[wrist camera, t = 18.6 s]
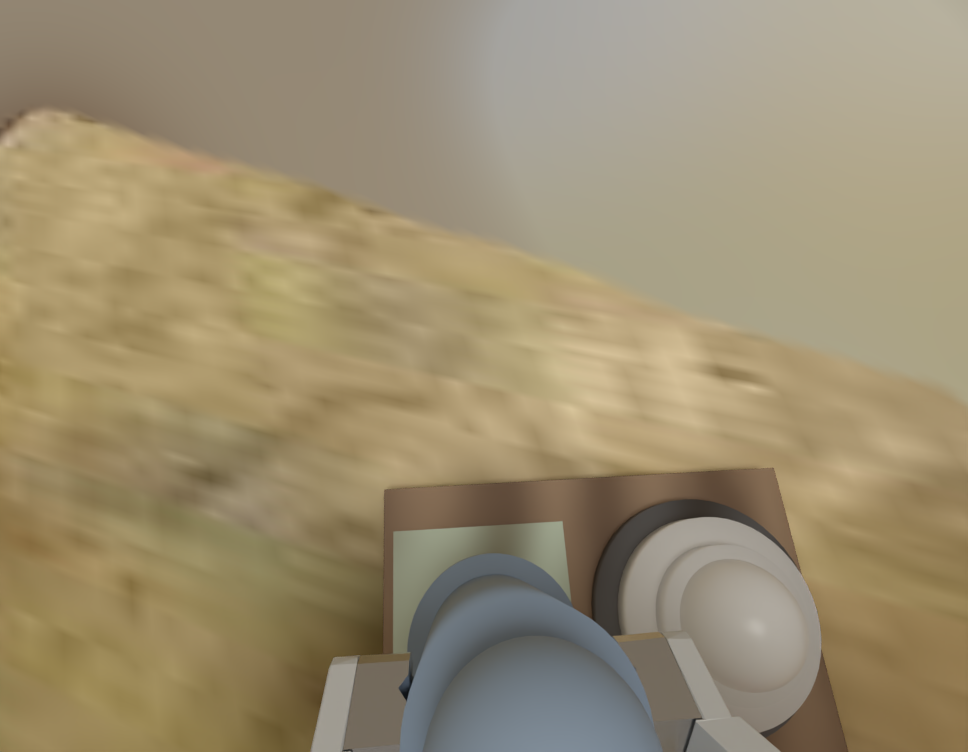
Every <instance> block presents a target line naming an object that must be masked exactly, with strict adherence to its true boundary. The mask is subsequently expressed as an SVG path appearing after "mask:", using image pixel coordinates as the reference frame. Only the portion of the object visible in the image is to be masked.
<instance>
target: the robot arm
mask: <svg viewBox="0 0 968 752" xmlns="http://www.w3.org/2000/svg"><path fill="white" fill-rule="evenodd" d="M612 638H613V639H614V640H615V641H616V642H617V643H618V645H619V646H620V647H621V649H622V650H623V651H624V653H625V654H626V655H627V657H628V658H629V660H630V662H631V663H632V665H633V667H634V669H635V670H636V672H637V674H638V676H639V679H640V681H641V683H642V685H643V688H644V690H645V693H646V696H647V699H648V702H649V705H650V709H651V714H652V718H653V723H654V729H655V731H656V733H657V736H658V738H659V740H660V744H661V747H662V750H663V752H781V751H780V750H778V749H777V748H776V747H775V746H774V745H773V744H771V743H770V742H769V741H768V740H767V739H766V738H764V737H763V736H762V735H761V734H760V733H759V732H757V731H756V730H755V729H754V728H753V727H752V726H750V725H749V724H748V723H747V722H746V721H745V720H743V719H742V718H741V717H740V716H731V714H730V712H729V710H728V708H727V706H726V704H725V702H724V700H723V698H722V696H721V694H720V692H719V690H718V688H717V686H716V685H715V683H714V681H713V679H712V677H711V675H710V673H709V671H708V669H707V667H706V665H705V663H704V661H703V659H702V657H701V655H700V654H699V652H698V650H697V648H696V646H695V644H694V642H693V640H692V638H691V636H690V635H689V634H688V633H687V632H686V631H682V630H681V631H670V632H660V633H659V632H651V633H641V634H630V635H620V636H612ZM412 673H413V659H412V652H406V653H391V654H376V655H356V656H343V657H334V658H333V660H332V662H331V665H330V667H329V671H328V675H327V680H326V684H325V689H324V693H323V698H322V702H321V707H320V711H319V716H318V720H317V725H316V729H315V733H314V738H313V742H312V747H311V751H310V752H400V736H401V726H402V720H403V714H404V709H405V705H406V702H407V698H408V695H409V691H410V688H411V685H412V682H413V679H414V676H412Z"/></svg>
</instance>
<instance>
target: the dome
mask: <svg viewBox="0 0 968 752" xmlns="http://www.w3.org/2000/svg"><path fill="white" fill-rule="evenodd" d="M618 618H619V625H620V630H621V635H630V634H641V633H651V632H659V633H660V632H670V631H681V630H682V631H686V632H687V633H688V634H689V635H690V636H691V638H692V640H693V642H694V644H695V646H696V648H697V650H698V652H699V654H700V655H701V657H702V659H703V661H704V663H705V665H706V667H707V669H708V671H709V673H710V675H711V677H712V679H713V681H714V683H715V685H716V686H717V688H718V690H719V692H720V694H721V696H722V698H723V700H724V702H725V704H726V706H727V708H728V710H729V712H730V714H731V716H740V717H741V718H742V719H743V720H745V721H746V722H747V723H748V724H749V725H750V726H752V727H753V728H754V729H755V730H756V731H757V732H759V733H760V732H763V731H766V730H769V729H772V728H774V727H776V726H778V725H779V724H781V723H783V722H785V721H786V720H787V719H788V718H790V717H791V716H792V715H793V714H794V713H795V712H796V711H797V710H798V709H799V708H800V707H801V705H802V704H803V703H804V701H805V700H806V698H807V697H808V695H809V693H810V692H811V689H812V687H813V685H814V683H815V680H816V677H817V673H818V670H819V665H820V658H821V630H820V623H819V618H818V613H817V609H816V606H815V603H814V600H813V597H812V595H811V593H810V590H809V588H808V586H807V584H806V582H805V580H804V579H803V577H802V575H801V573H800V572H799V570H798V569H797V568H796V566H795V565H794V563H793V562H792V561H791V560H790V558H789V557H788V556H787V555H786V554H785V553H784V552H783V551H782V550H781V549H780V548H779V547H778V546H777V545H776V544H775V543H774V542H773V541H771V540H770V539H768V538H767V537H766V536H764V535H763V534H762V533H760V532H758V531H756V530H755V529H753V528H751V527H749V526H747V525H744V524H742V523H739V522H736V521H733V520H729V519H724V518H717V517H700V518H691V519H684V520H678V521H674V522H671V523H668V524H666V525H663V526H661V527H659V528H657V529H656V530H654V531H653V532H651V533H650V534H649V535H647V536H646V537H645V538H644V539H643V540H642V541H641V542H640V543H639V544H638V546H637V547H636V548H635V549H634V551H633V552H632V554H631V556H630V557H629V559H628V561H627V563H626V566H625V568H624V570H623V574H622V577H621V580H620V585H619V592H618Z"/></svg>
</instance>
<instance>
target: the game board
mask: <svg viewBox="0 0 968 752" xmlns="http://www.w3.org/2000/svg"><path fill="white" fill-rule="evenodd" d="M700 517H717V518H724V519H729V520H733V521H736V522H739V523H742V524H744V525H747V526H749V527H751V528H753V529H755V530H756V531H758V532H760V533H762V534H763V535H764V536H766V537H767V538H768V539H770V540H771V541H773V542H774V543H775V544H776V545H777V546H778V547H779V548H780V549H781V550H782V551H783V552H784V553H785V554H786V555H787V556H788V557H789V558H790V560H791V561H792V562H793V563H794V565H795V566H796V568H797V569H798V570H799V572H800V573H801V570H800V566H799V562H798V559H797V555H796V551H795V547H794V543H793V539H792V536H791V532H790V528H789V524H788V520H787V517H786V513H785V509H784V505H783V501H782V497H781V494H780V490H779V486H778V482H777V478H776V475H775V471H774V468H762V469H744V470H726V471H708V472H690V473H673V474H655V475H637V476H619V477H601V478H583V479H565V480H547V481H530V482H512V483H494V484H476V485H458V486H440V487H422V488H405V489H387V490H385V491H384V595H383V654H391V653H406V652H407V645H408V637H409V631H410V626H411V623H412V620H413V616H414V614H415V612H416V609H417V607H418V605H419V603H420V601H421V599H422V598H423V596H424V594H425V593H426V591H427V590H428V589H429V587H430V586H431V585H432V583H433V582H434V581H435V580H436V579H437V578H438V577H439V576H440V575H441V574H442V573H443V572H444V571H445V570H447V569H448V568H449V567H451V566H452V565H454V564H456V563H457V562H459V561H461V560H463V559H466V558H468V557H471V556H475V555H479V554H486V553H500V554H507V555H513V556H516V557H519V558H523V559H525V560H527V561H529V562H532V563H534V564H535V565H537V566H538V567H540V568H542V569H543V570H544V571H545V572H547V573H548V574H549V575H550V576H551V577H552V578H553V579H554V580H555V581H556V582H557V583H558V584H559V585H560V586H561V588H562V589H563V590H564V592H565V593H566V595H567V596H568V598H569V600H570V602H571V603H572V605H573V608H574V609H576V610H577V611H579V612H581V613H582V614H584V615H586V616H587V617H589V618H590V619H592V620H593V621H594V622H596V623H597V624H598V625H599V626H601V627H602V628H603V629H604V630H605V631H606V632H607V633H608V634H609V635H610V636H611V637H612V636H620V635H621V630H620V625H619V618H618V592H619V585H620V580H621V577H622V574H623V570H624V568H625V566H626V563H627V561H628V559H629V557H630V556H631V554H632V552H633V551H634V549H635V548H636V547H637V546H638V544H639V543H640V542H641V541H642V540H643V539H644V538H645V537H646V536H647V535H649V534H650V533H651V532H653V531H654V530H656V529H657V528H659V527H661V526H663V525H666V524H668V523H671V522H674V521H678V520H684V519H691V518H700ZM801 575H802V574H801ZM760 734H761V735H762V736H763V737H764V738H766V739H767V740H768V741H769V742H770V743H771V744H773V745H774V746H775V747H776V748H777V749H778V750H780V751H781V752H848V749H847V746H846V742H845V738H844V734H843V730H842V726H841V723H840V719H839V715H838V711H837V707H836V704H835V700H834V696H833V692H832V688H831V685H830V681H829V677H828V673H827V669H826V665H825V662H824V658H823V654H822V650H821V658H820V665H819V670H818V673H817V677H816V680H815V683H814V685H813V687H812V689H811V692H810V693H809V695H808V697H807V698H806V700H805V701H804V703H803V704H802V705H801V707H800V708H799V709H798V710H797V711H796V712H795V713H794V714H793V715H792V716H791V717H790V718H788V719H787V720H786V721H785V722H783V723H781V724H779V725H778V726H776V727H774V728H772V729H769V730H766V731H763V732H760Z"/></svg>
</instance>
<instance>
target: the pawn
mask: <svg viewBox="0 0 968 752" xmlns="http://www.w3.org/2000/svg"><path fill="white" fill-rule="evenodd" d="M407 652H412V659H413V673H412V676H414V679H413V682H412V685H411V688H410V691H409V695H408V698H407V702H406V705H405V709H404V714H403V720H402V726H401V736H400V752H663V750H662V747H661V744H660V740H659V738H658V736H657V733H656V731H655V729H654V723H653V718H652V714H651V709H650V705H649V702H648V699H647V696H646V693H645V690H644V688H643V685H642V683H641V681H640V679H639V676H638V674H637V672H636V670H635V669H634V667H633V665H632V663H631V662H630V660H629V658H628V657H627V655H626V654H625V653H624V651H623V650H622V649H621V647H620V646H619V645H618V643H617V642H616V641H615V640H614V639H613V638H612V637H611V636H610V635H609V634H608V633H607V632H606V631H605V630H604V629H603V628H602V627H601V626H599V625H598V624H597V623H596V622H594V621H593V620H592V619H590V618H589V617H587V616H586V615H584V614H582V613H581V612H579V611H577V610H576V609H574V608H573V605H572V603H571V602H570V600H569V598H568V596H567V595H566V593H565V592H564V590H563V589H562V588H561V586H560V585H559V584H558V583H557V582H556V581H555V580H554V579H553V578H552V577H551V576H550V575H549V574H548V573H547V572H545V571H544V570H543V569H542V568H540V567H538V566H537V565H535V564H534V563H532V562H529V561H527V560H525V559H523V558H519V557H516V556H513V555H507V554H500V553H486V554H479V555H475V556H471V557H468V558H466V559H463V560H461V561H459V562H457V563H456V564H454V565H452V566H451V567H449V568H448V569H447V570H445V571H444V572H443V573H442V574H441V575H440V576H439V577H438V578H437V579H436V580H435V581H434V582H433V583H432V585H431V586H430V587H429V589H428V590H427V591H426V593H425V594H424V596H423V598H422V599H421V601H420V603H419V605H418V607H417V609H416V612H415V614H414V616H413V620H412V623H411V626H410V631H409V637H408V645H407Z"/></svg>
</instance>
